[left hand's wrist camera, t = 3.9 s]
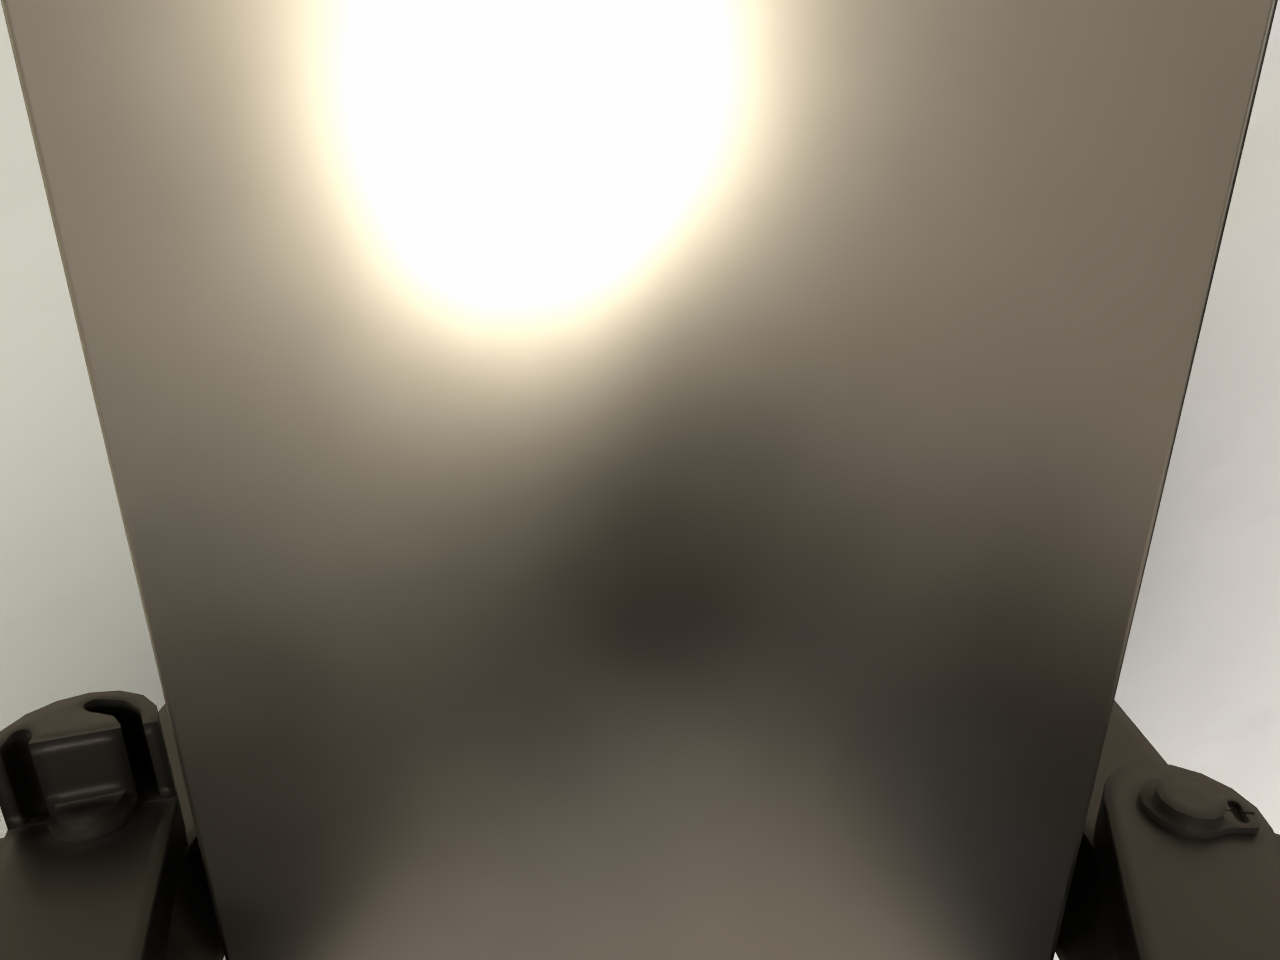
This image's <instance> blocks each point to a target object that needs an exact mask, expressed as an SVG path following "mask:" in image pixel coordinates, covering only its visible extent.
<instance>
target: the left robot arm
mask: <svg viewBox="0 0 1280 960" xmlns="http://www.w3.org/2000/svg"><path fill="white" fill-rule="evenodd" d="M0 807H1V810H2V813H3V816H4V819H5V822H6V825H7V828H8V831H7V833H6V836H5V837H4V838H1V839H0V960H222V959H223V957H224V955H225V954H224V950H223V945H222V941H221V937H220V933H219V928H218V924H217V920H216V915H215V911H214V907H213V903H212V898H211V894H210V890H209V886H208V881H207V877H206V873H205V869H204V864H203V860H202V856H201V851H200V847H199V843H198V839H197V834H196V830H195V826H194V822H193V817H192V813H191V809H190V805H189V800H188V796H187V792H186V787H185V783H184V779H183V775H182V770H181V766H180V762H179V758H178V753H177V749H176V745H175V741H174V736H173V732H172V728H171V724H170V719H169V715H168V711H167V706H166V703H165V705H164V706H163V707H162V708H161V710H160V711H159V712H158V710H157V706H156V705H155V704H154V703H152V702H151V701H150V700H149V699H147V698H146V697H145V696H143V695H140V694H134V693H129V692H124V691H108V692H94V693H87V694H83V695H79V696H75V697H71V698H67V699H63V700H59V701H56V702H54V703H52V704H49V705H47V706H45V707H42V708H40V709H38V710H35V711H33V712H31V713H28V714H26V715H24V716H23V717H21V718H20V719H18V720H17V721H15V722H14V723H12V724H11V725H9V726H8V727H6V728H5V729H3V730H2V731H0ZM1055 952H1056V954H1057V956H1058V958H1059V960H1280V835H1279V834H1275V833H1274V832H1273V829H1272V828H1271V826H1270V825H1269V824H1268V822H1267V821H1266V820H1265V818H1264V817H1263V816H1262V814H1261V813H1260V811H1259V810H1258V809H1257V808H1256V807H1255V806H1254V805H1252V804H1251V803H1250V802H1249V801H1247V800H1246V799H1245V798H1243V797H1242V796H1241V795H1240V794H1238V793H1237V792H1236V791H1234V790H1233V789H1232V788H1230V787H1228V786H1226V785H1224V784H1222V783H1219V782H1217V781H1215V780H1213V779H1211V778H1209V777H1207V776H1205V775H1203V774H1201V773H1197V772H1194V771H1190V770H1187V769H1184V768H1180V767H1177V766H1173V765H1168V764H1167V763H1166V762H1165V760H1164V759H1163V758H1162V757H1161V756H1160V754H1159V753H1158V752H1157V751H1156V750H1155V748H1154V747H1153V746H1152V745H1151V744H1150V742H1149V741H1148V740H1147V739H1146V738H1145V736H1144V735H1143V734H1142V733H1141V732H1140V730H1139V729H1138V728H1137V727H1136V725H1135V724H1134V723H1133V722H1132V721H1131V719H1130V718H1129V717H1128V716H1127V715H1126V713H1125V712H1124V711H1123V710H1122V709H1121V707H1120V706H1119V705H1118V704H1117V703H1116V701H1115V700H1114V702H1113V706H1112V711H1111V715H1110V719H1109V723H1108V728H1107V732H1106V736H1105V740H1104V745H1103V749H1102V753H1101V758H1100V762H1099V766H1098V770H1097V775H1096V779H1095V783H1094V787H1093V792H1092V796H1091V800H1090V805H1089V809H1088V813H1087V817H1086V822H1085V826H1084V830H1083V834H1082V839H1081V843H1080V847H1079V852H1078V856H1077V860H1076V864H1075V869H1074V873H1073V877H1072V882H1071V886H1070V890H1069V894H1068V899H1067V903H1066V907H1065V911H1064V916H1063V920H1062V924H1061V929H1060V933H1059V937H1058V941H1057V946H1056V950H1055Z"/></svg>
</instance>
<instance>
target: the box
mask: <svg viewBox="0 0 1280 960" xmlns="http://www.w3.org/2000/svg"><path fill="white" fill-rule="evenodd" d="M1277 1H1278V0H1V3H2V7H3V11H4V15H5V20H6V24H7V28H8V33H9V37H10V41H11V45H12V50H13V54H14V58H15V62H16V67H17V71H18V75H19V79H20V84H21V88H22V92H23V97H24V101H25V105H26V109H27V114H28V118H29V122H30V126H31V131H32V135H33V139H34V143H35V148H36V152H37V156H38V161H39V165H40V169H41V173H42V178H43V182H44V186H45V190H46V195H47V199H48V203H49V207H50V212H51V216H52V220H53V224H54V229H55V233H56V237H57V242H58V246H59V250H60V254H61V259H62V263H63V267H64V271H65V276H66V280H67V284H68V288H69V293H70V297H71V301H72V306H73V310H74V314H75V318H76V323H77V327H78V331H79V335H80V340H81V344H82V348H83V352H84V357H85V361H86V365H87V369H88V374H89V378H90V382H91V387H92V391H93V395H94V399H95V404H96V408H97V412H98V416H99V421H100V425H101V429H102V433H103V438H104V442H105V446H106V451H107V455H108V459H109V463H110V468H111V472H112V476H113V480H114V485H115V489H116V493H117V497H118V502H119V506H120V510H121V515H122V519H123V523H124V527H125V532H126V536H127V540H128V544H129V549H130V553H131V557H132V561H133V566H134V570H135V574H136V578H137V583H138V587H139V591H140V596H141V600H142V604H143V608H144V613H145V617H146V621H147V625H148V630H149V634H150V638H151V642H152V647H153V651H154V655H155V660H156V664H157V668H158V672H159V677H160V681H161V685H162V689H163V694H164V698H165V702H166V706H167V711H168V715H169V719H170V724H171V728H172V732H173V736H174V741H175V745H176V749H177V753H178V758H179V762H180V766H181V770H182V775H183V779H184V783H185V787H186V792H187V796H188V800H189V805H190V809H191V813H192V817H193V822H194V826H195V830H196V834H197V839H198V843H199V847H200V851H201V856H202V860H203V864H204V869H205V873H206V877H207V881H208V886H209V890H210V894H211V898H212V903H213V907H214V911H215V915H216V920H217V924H218V928H219V933H220V937H221V941H222V945H223V950H224V954H225V958H226V960H1053V958H1054V954H1055V950H1056V946H1057V941H1058V937H1059V933H1060V929H1061V924H1062V920H1063V916H1064V911H1065V907H1066V903H1067V899H1068V894H1069V890H1070V886H1071V882H1072V877H1073V873H1074V869H1075V864H1076V860H1077V856H1078V852H1079V847H1080V843H1081V839H1082V834H1083V830H1084V826H1085V822H1086V817H1087V813H1088V809H1089V805H1090V800H1091V796H1092V792H1093V787H1094V783H1095V779H1096V775H1097V770H1098V766H1099V762H1100V758H1101V753H1102V749H1103V745H1104V740H1105V736H1106V732H1107V728H1108V723H1109V719H1110V715H1111V711H1112V706H1113V702H1114V698H1115V693H1116V689H1117V685H1118V681H1119V676H1120V672H1121V668H1122V664H1123V659H1124V655H1125V651H1126V646H1127V642H1128V638H1129V634H1130V629H1131V625H1132V621H1133V616H1134V612H1135V608H1136V604H1137V599H1138V595H1139V591H1140V587H1141V582H1142V578H1143V574H1144V569H1145V565H1146V561H1147V557H1148V552H1149V548H1150V544H1151V540H1152V535H1153V531H1154V527H1155V522H1156V518H1157V514H1158V510H1159V505H1160V501H1161V497H1162V493H1163V488H1164V484H1165V480H1166V475H1167V471H1168V467H1169V463H1170V458H1171V454H1172V450H1173V445H1174V441H1175V437H1176V433H1177V428H1178V424H1179V420H1180V416H1181V411H1182V407H1183V403H1184V398H1185V394H1186V390H1187V386H1188V381H1189V377H1190V373H1191V369H1192V364H1193V360H1194V356H1195V351H1196V347H1197V343H1198V339H1199V334H1200V330H1201V326H1202V322H1203V317H1204V313H1205V309H1206V304H1207V300H1208V296H1209V292H1210V287H1211V283H1212V279H1213V275H1214V270H1215V266H1216V262H1217V257H1218V253H1219V249H1220V245H1221V240H1222V236H1223V232H1224V227H1225V223H1226V219H1227V215H1228V210H1229V206H1230V202H1231V198H1232V193H1233V189H1234V185H1235V180H1236V176H1237V172H1238V168H1239V163H1240V159H1241V155H1242V151H1243V146H1244V142H1245V138H1246V133H1247V129H1248V125H1249V121H1250V116H1251V112H1252V108H1253V104H1254V99H1255V95H1256V91H1257V86H1258V82H1259V78H1260V74H1261V69H1262V65H1263V61H1264V56H1265V52H1266V48H1267V44H1268V39H1269V35H1270V31H1271V27H1272V22H1273V18H1274V14H1275V9H1276V5H1277Z"/></svg>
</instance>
